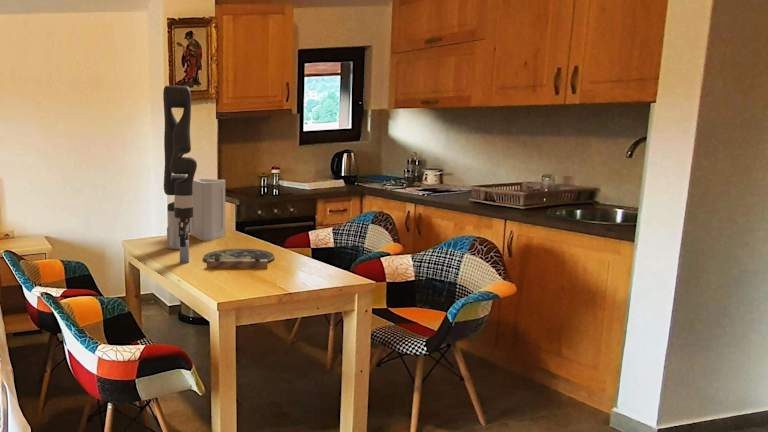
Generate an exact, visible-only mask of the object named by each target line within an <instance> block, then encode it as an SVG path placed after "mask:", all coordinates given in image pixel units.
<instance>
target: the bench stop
mask: <svg viewBox="0 0 768 432" xmlns="http://www.w3.org/2000/svg"><path fill="white" fill-rule="evenodd" d="M206 269H268V263H267V259H260V253H255V259H239V260H220V253H215V260H207V263H206Z"/></svg>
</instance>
